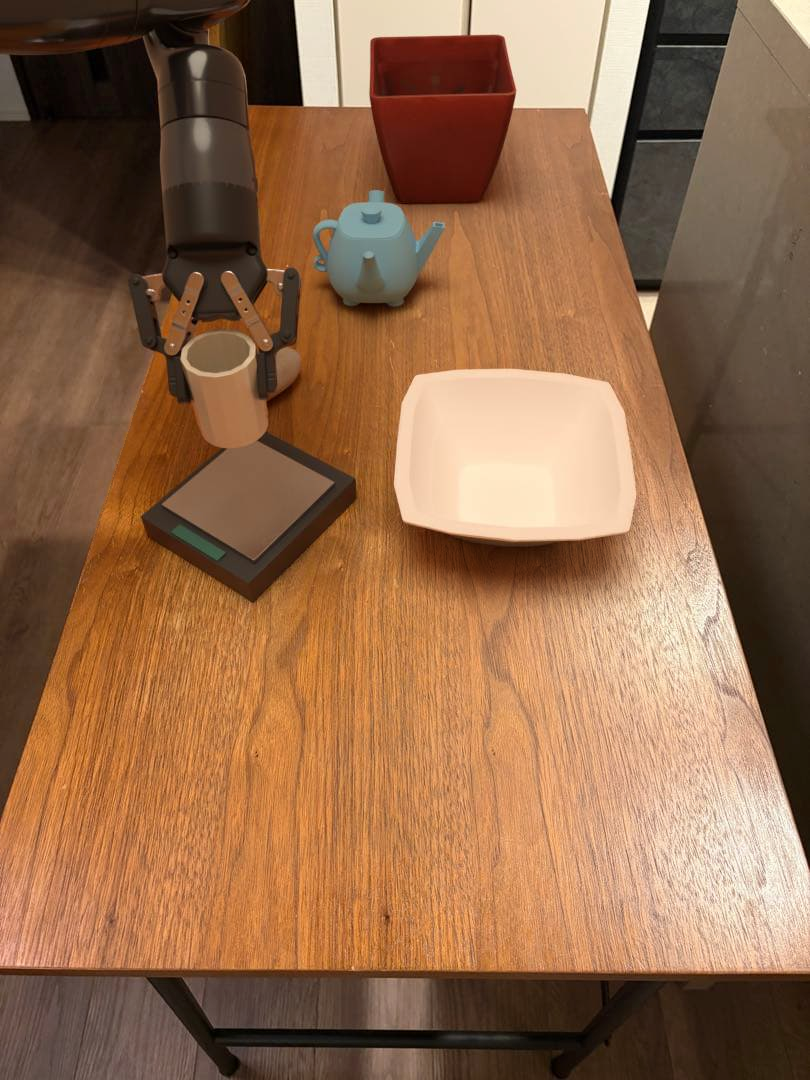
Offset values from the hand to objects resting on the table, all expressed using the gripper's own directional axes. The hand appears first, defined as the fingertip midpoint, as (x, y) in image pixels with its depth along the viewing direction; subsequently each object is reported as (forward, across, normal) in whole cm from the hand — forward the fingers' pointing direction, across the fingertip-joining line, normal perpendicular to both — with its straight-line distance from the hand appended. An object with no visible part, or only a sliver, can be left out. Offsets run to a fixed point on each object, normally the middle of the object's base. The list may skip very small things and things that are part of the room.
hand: (225, 400), depth 70 cm
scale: (+11, 0, +14) cm, 18 cm away
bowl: (+11, +25, +14) cm, 31 cm away
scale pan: (+9, 0, +12) cm, 15 cm away
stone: (-2, -1, +28) cm, 28 cm away
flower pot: (-35, +24, +61) cm, 74 cm away
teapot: (-16, +14, +42) cm, 47 cm away
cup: (+2, 0, +4) cm, 5 cm away
